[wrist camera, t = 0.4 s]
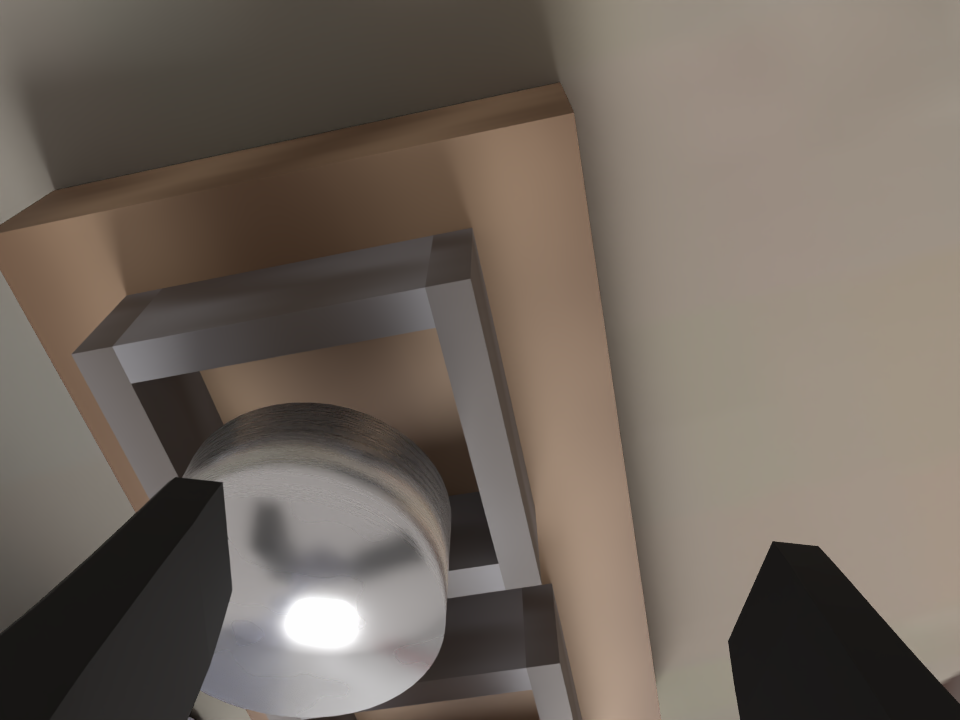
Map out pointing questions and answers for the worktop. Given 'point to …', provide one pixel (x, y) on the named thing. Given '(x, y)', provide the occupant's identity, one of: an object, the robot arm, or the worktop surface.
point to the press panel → (381, 364)
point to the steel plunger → (326, 560)
